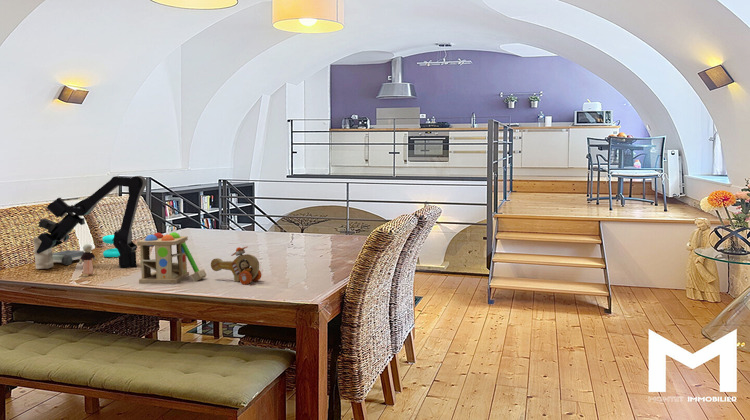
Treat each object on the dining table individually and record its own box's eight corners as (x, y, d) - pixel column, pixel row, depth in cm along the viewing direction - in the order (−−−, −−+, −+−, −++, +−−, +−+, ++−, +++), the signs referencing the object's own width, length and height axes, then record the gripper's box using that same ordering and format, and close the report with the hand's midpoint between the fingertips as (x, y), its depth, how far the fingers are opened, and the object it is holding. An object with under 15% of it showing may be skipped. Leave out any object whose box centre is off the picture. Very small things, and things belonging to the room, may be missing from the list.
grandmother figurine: (86, 277, 231) (85, 245, 230) (78, 276, 232) (76, 244, 231) (99, 273, 239) (98, 242, 237) (91, 273, 239) (89, 242, 238)
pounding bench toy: (211, 275, 233) (209, 230, 231) (199, 283, 219) (197, 235, 217) (153, 275, 234) (151, 231, 232) (138, 283, 219) (136, 235, 218)
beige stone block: (53, 266, 252) (51, 236, 251) (48, 268, 248) (46, 237, 246) (41, 266, 252) (38, 236, 251) (35, 268, 247) (33, 238, 246)
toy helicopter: (252, 285, 215) (251, 248, 213) (205, 281, 222) (204, 245, 221) (264, 281, 222) (263, 245, 221) (218, 277, 230) (217, 242, 229)
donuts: (117, 233, 287) (129, 235, 282) (117, 254, 288) (130, 255, 282) (97, 236, 279) (110, 237, 273) (98, 257, 280) (111, 258, 274)
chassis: (70, 258, 275) (70, 249, 275) (93, 260, 271) (92, 250, 270) (41, 264, 260) (40, 254, 260) (64, 266, 256) (63, 255, 255)
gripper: (60, 210, 257) (34, 236, 257) (41, 214, 239) (14, 241, 238) (80, 227, 259) (54, 253, 259) (63, 232, 241) (36, 260, 240)
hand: (40, 251), depth 249 cm, fingers closed on beige stone block, 5 cm apart
